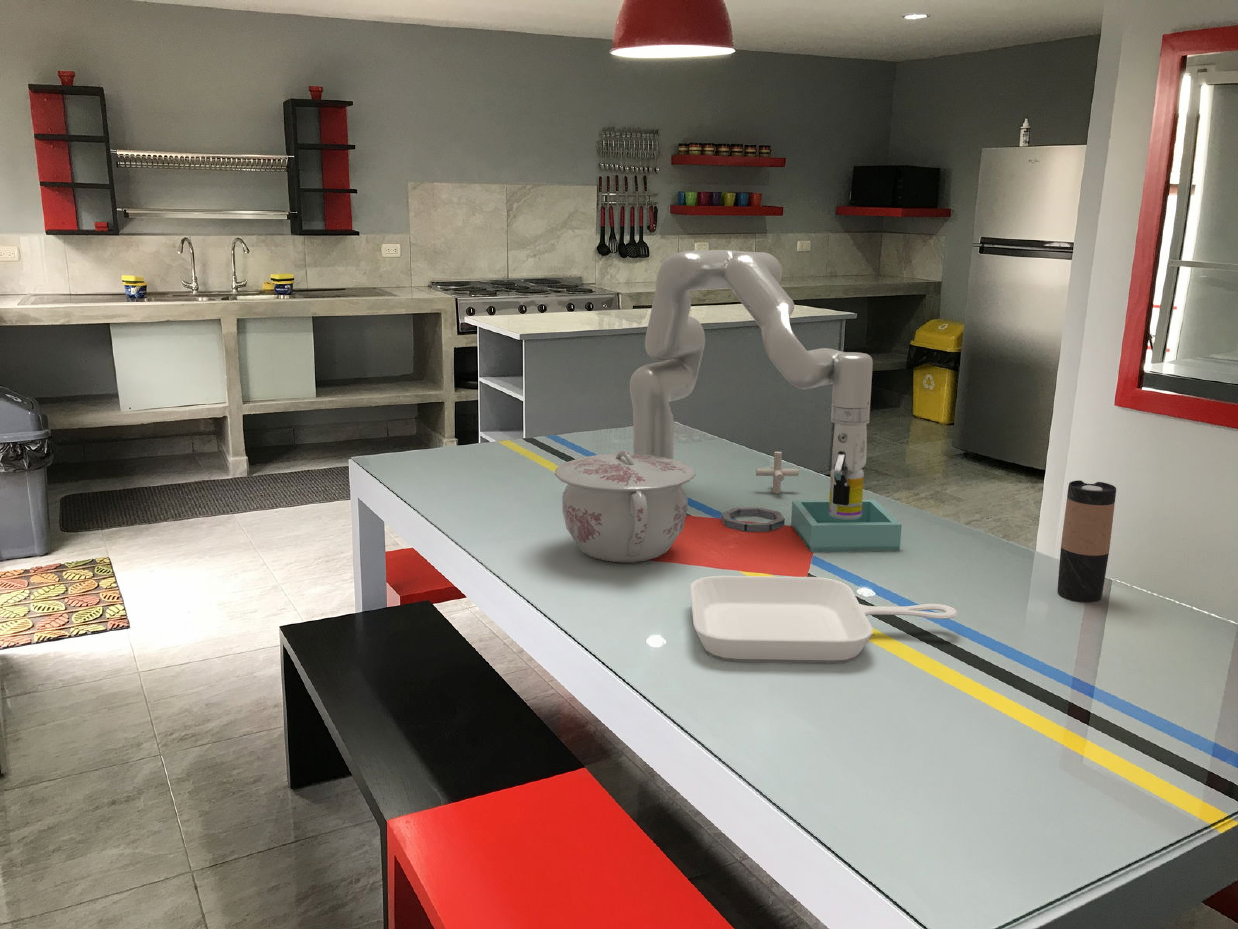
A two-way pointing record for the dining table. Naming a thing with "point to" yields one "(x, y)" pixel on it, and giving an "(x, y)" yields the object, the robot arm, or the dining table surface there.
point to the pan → (787, 618)
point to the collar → (753, 527)
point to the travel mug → (1086, 540)
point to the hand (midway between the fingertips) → (845, 499)
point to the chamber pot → (624, 504)
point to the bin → (845, 528)
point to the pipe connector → (777, 472)
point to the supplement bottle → (855, 497)
